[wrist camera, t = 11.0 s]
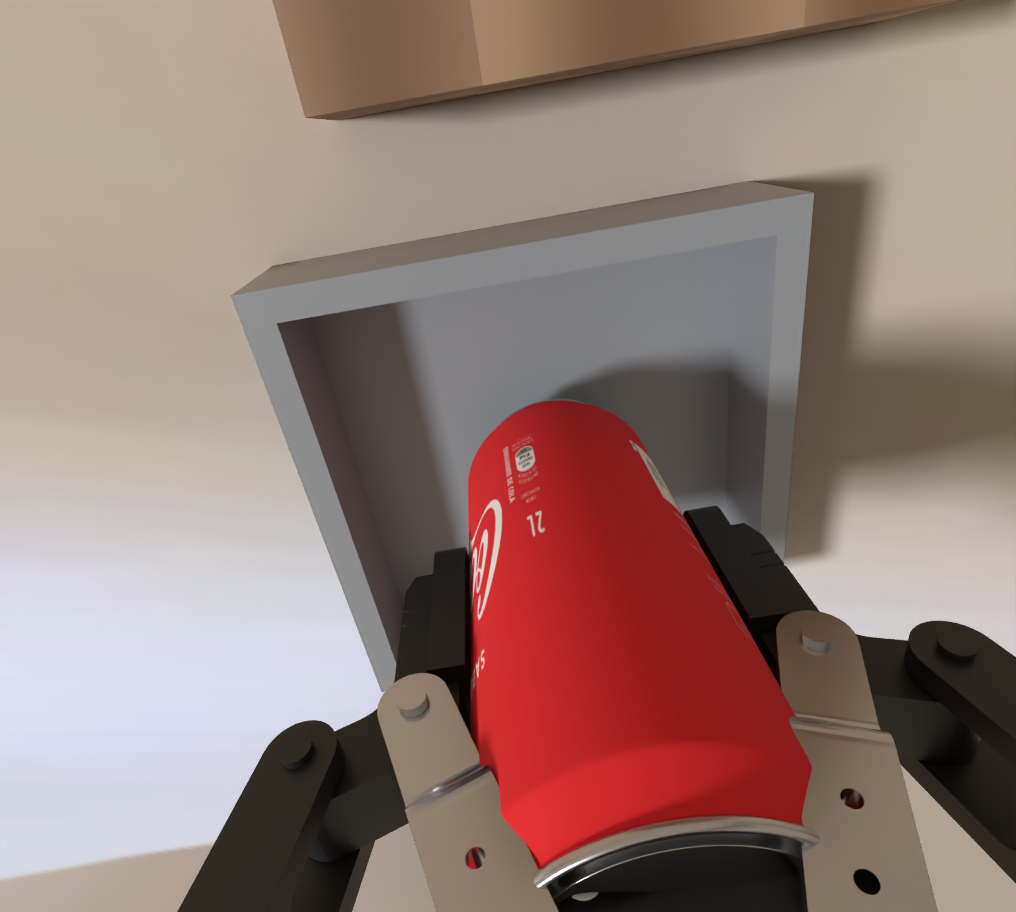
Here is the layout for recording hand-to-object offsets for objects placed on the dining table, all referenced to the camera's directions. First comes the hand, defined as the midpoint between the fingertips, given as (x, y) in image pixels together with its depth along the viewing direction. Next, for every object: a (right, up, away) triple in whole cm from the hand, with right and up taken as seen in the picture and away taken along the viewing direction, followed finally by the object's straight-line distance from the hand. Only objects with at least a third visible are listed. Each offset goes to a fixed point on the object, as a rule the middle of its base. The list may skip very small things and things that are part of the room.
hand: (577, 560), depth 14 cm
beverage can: (0, +2, +4) cm, 5 cm away
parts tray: (-1, +3, +6) cm, 7 cm away
